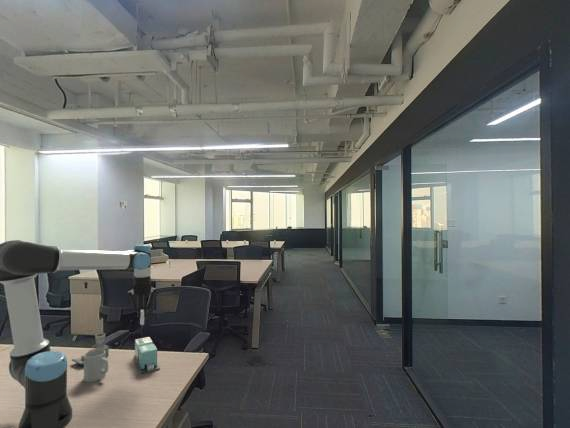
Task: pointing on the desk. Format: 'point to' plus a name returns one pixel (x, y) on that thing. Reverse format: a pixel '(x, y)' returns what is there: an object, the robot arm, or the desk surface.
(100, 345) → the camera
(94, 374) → the mug
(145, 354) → the block
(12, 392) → the desk surface
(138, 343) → the light grey angular piece
